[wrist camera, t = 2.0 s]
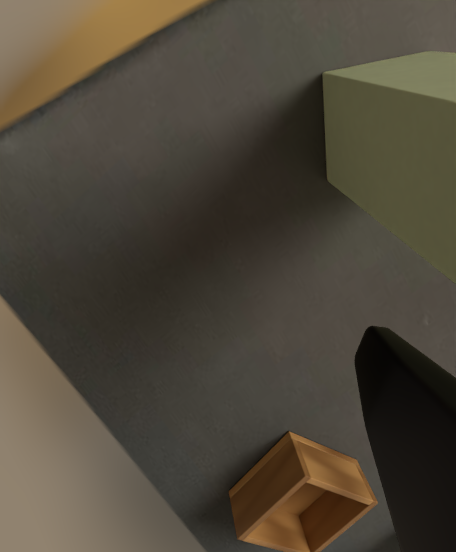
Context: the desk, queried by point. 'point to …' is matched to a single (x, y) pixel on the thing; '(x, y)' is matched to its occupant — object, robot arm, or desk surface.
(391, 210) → the sage green pillar
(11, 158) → the desk surface
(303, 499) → the small open wooden box
